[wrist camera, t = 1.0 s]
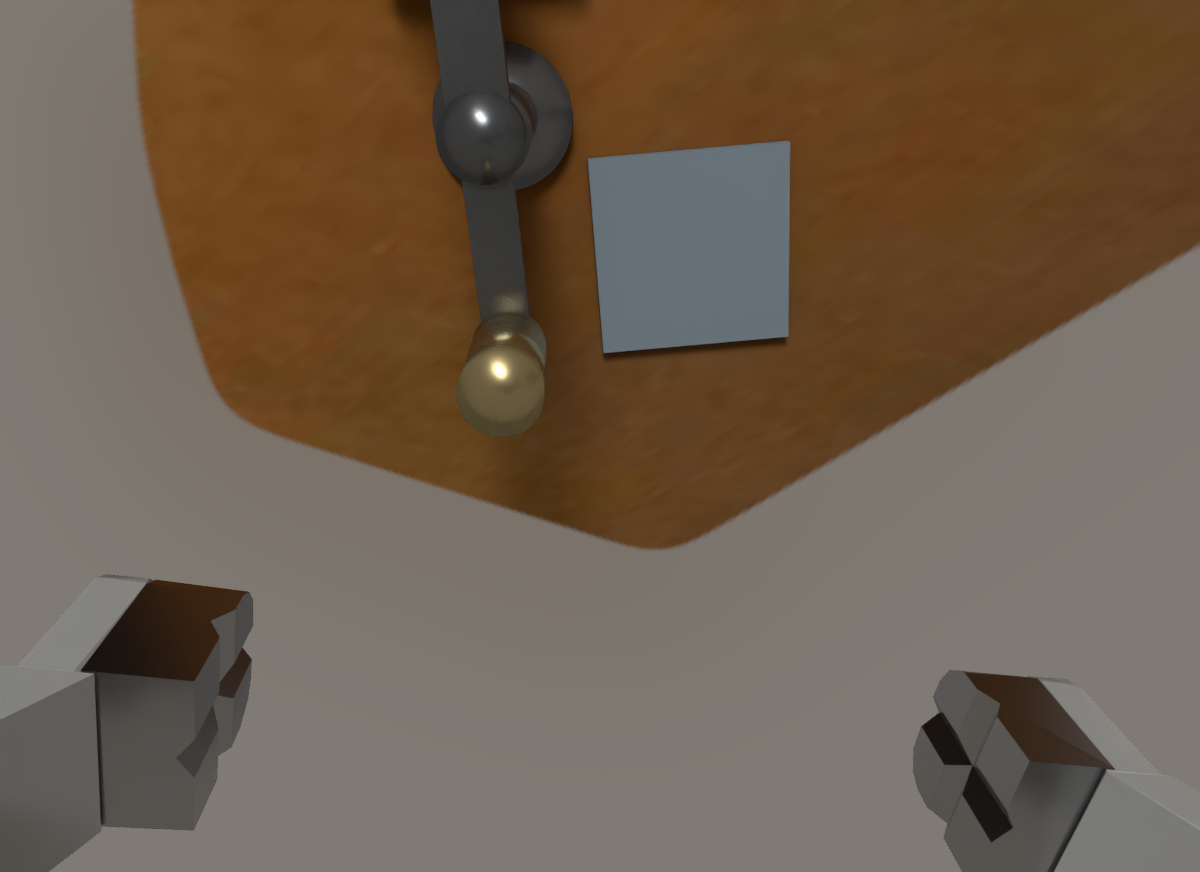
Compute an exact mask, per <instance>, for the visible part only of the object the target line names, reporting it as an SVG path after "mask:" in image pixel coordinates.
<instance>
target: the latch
mask: <svg viewBox="0 0 1200 872" xmlns="http://www.w3.org/2000/svg"><path fill="white" fill-rule="evenodd" d="M430 5H431V12H432V19H433V26H434V33H435V40H436V47H437V54H438V61H439V68H440V75H441V82H442V89H443V96H444V103H445V108H444V109H443V111H442V113H441V115H440V117H439V119H438V123H437V127H436V144H437V148H438V151H439V154H440V157H441V159H442V161H443V162H444V164H445V165H446V167H447V168H448V169H449V170H450V171H451V172H452V173H453V174H454V175H455V176H457V177H458V178H460V179H462V186H463V193H464V200H465V207H466V214H467V222H468V229H469V236H470V243H471V250H472V258H473V265H474V272H475V279H476V286H477V293H478V301H479V308H480V315H481V323H480V324H479V326H478V327H477V329H476V331H475V333H474V336H473V339H472V343H471V346H470V349H469V352H468V355H467V358H466V361H465V364H464V367H463V370H462V374H461V377H460V380H459V383H458V387H457V395H456V396H457V404H458V407H459V410H460V412H461V414H462V416H463V417H464V419H465V420H466V421H467V422H468V423H469V424H470V425H471V426H472V427H473V428H474V429H476V430H478V431H479V432H481V433H484V434H486V435H490V436H494V437H508V436H513V435H517V434H519V433H522V432H523V431H525V430H527V429H528V428H529V427H531V426H532V425H533V424H534V423H535V421H536V420H537V419H538V417H539V415H540V413H541V411H542V408H543V404H544V389H545V369H546V350H547V346H546V338H545V335H544V333H543V331H542V329H541V327H540V326H539V325H538V324H537V322H536V321H534V320H533V319H532V318H531V317H530V313H529V304H528V296H527V287H526V278H525V270H524V261H523V252H522V244H521V235H520V226H519V218H518V209H517V200H516V192H515V183H514V174H513V172H514V171H515V170H516V169H517V168H518V166H519V165H520V163H521V161H522V159H523V156H524V154H525V151H526V147H527V128H526V124H525V120H524V118H523V116H522V114H521V112H520V111H519V109H518V108H517V107H516V105H515V104H514V103H513V102H512V101H511V94H510V85H509V76H508V67H507V58H506V49H505V40H504V31H503V23H502V14H501V5H500V0H430Z"/></svg>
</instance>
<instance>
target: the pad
mask: <svg viewBox="0 0 1200 872" xmlns="http://www.w3.org/2000/svg"><path fill="white" fill-rule="evenodd" d="M588 170H589V182H590V195H591V207H592V219H593V231H594V244H595V256H596V268H597V281H598V293H599V305H600V317H601V330H602V342H603V352H604V353H610V352H621V351H633V350H644V349H655V348H666V347H678V346H689V345H700V344H711V343H723V342H734V341H745V340H756V339H767V338H779V337H788V320H789V212H790V142H789V141H780V142H768V143H757V144H745V145H734V146H722V147H711V148H700V149H688V150H677V151H665V152H654V153H642V154H631V155H619V156H608V157H597V158H588Z"/></svg>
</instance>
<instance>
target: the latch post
mask: <svg viewBox="0 0 1200 872" xmlns="http://www.w3.org/2000/svg"><path fill="white" fill-rule="evenodd" d="M505 49H506V58H507V67H508V76H509V85H510V94H511V101H512V102H513V103H514V104H515V105H516V107H517V108H518V109H519V111H520V112H521V114H522V116H523V118H524V120H525V124H526V128H527V147H526V151H525V154H524V156H523V159H522V161H521V163H520V165H519V166H518V168H517V169H516V170H515V171H514V172H513V174H514V183H515V190H518V189H522V188H525V187H529V186H531V185H533V184H535V183H537V182H539V181H540V180H542V179H544V178H545V177H546V176H547V175H548V174H550V173H551V172H552V171H553V170H554V169H555V167H556V166H557V165H558V164H559V162H560V161H561V159H562V158H563V156H564V154H565V152H566V150H567V147H568V145H569V142H570V138H571V133H572V125H573V112H572V106H571V101H570V97H569V94H568V91H567V88H566V86H565V84H564V82H563V80H562V78H561V77H560V75H559V74H558V72H557V71H556V70H555V68H554V67H553V66H552V65H551V64H550V63H549V62H548V61H547V60H546V59H545V58H543V57H542V56H541V55H539V54H538V53H536V52H534V51H533V50H531V49H529V48H526V47H524V46H521V45H518V44H514V43H508V42H505ZM444 108H445V103H444V96H443V89H442V82H441V79H440V81H439V84H438V86H437V89H436V92H435V95H434V101H433V126H434V130H435V135H436V127H437V123H438V119H439V117H440V115H441V113H442V111H443V109H444Z"/></svg>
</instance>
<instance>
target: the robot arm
mask: <svg viewBox="0 0 1200 872" xmlns="http://www.w3.org/2000/svg"><path fill="white" fill-rule="evenodd" d="M252 627H253V599H252V597H251V595H250V593H249V592H245V591H239V590H230V589H223V588H215V587H208V586H200V585H192V584H184V583H177V582H169V581H162V580H154V581H153V580H151V579H146V578H137V577H127V576H119V575H109V574H106V575H102V576H99V577H96V578H95V579H94V580H93V581H92V582H91V583H90V584H89V585H88V586H87V587H86V589H85V590H84V591H83V592H82V593H81V594H80V595H79V596H78V598H77V599H76V600H75V601H74V602H73V603H72V604H71V606H70V607H69V608H68V609H67V610H66V611H65V612H64V613H63V615H62V616H61V617H60V618H59V619H58V620H57V621H56V623H55V624H54V625H53V626H52V627H51V628H50V629H49V631H48V632H47V633H46V634H45V635H44V636H43V637H42V638H41V639H40V641H39V642H38V643H37V644H36V645H35V646H34V647H33V648H32V650H31V651H30V652H29V653H28V654H27V655H26V656H25V657H24V659H23V660H22V661H21V662H20V663H19V664H18V665H17V666H9V665H0V872H49V871H50V870H51V869H52V868H54V867H55V866H56V865H58V864H59V863H60V862H62V861H63V860H64V859H66V858H67V857H68V856H69V855H71V854H72V853H74V852H75V851H76V850H77V849H79V848H80V847H81V846H83V845H84V844H85V843H87V842H88V841H89V840H90V839H92V838H93V837H94V836H96V835H97V834H98V833H100V831H101V826H107V827H130V828H151V829H174V830H194V828H195V826H196V824H197V822H198V820H199V817H200V815H201V813H202V811H203V809H204V806H205V804H206V802H207V800H208V798H209V795H210V794H211V791H212V789H213V787H214V785H215V783H216V780H217V767H218V755H220V754H221V753H223V752H225V751H226V750H228V749H229V748H231V747H232V745H233V743H234V740H235V738H236V736H237V733H238V731H239V729H240V726H241V722H242V718H243V715H244V711H245V708H246V704H247V700H248V694H249V687H250V681H251V664H252V659H251V658H250V657H249V655H248V654H247V653H246V652H245V650H244V649H243V648H242V647H243V645H244V643H245V641H246V639H247V637H248V635H249V633H250V631H251V629H252ZM933 698H934V700H935V703H936V706H937V708H938V711H939V713H938V714H937V715H935V716H934V717H933V718H931V719H930V720H929V721H928V722H926V723H925V724H924V725H922V726H921V729H920V732H919V734H918V737H917V740H916V743H915V746H914V749H913V750H914V751H913V752H914V754H913V763H914V764H913V773H914V776H915V780H916V784H917V788H918V790H919V792H920V795H921V796H922V798H923V800H924V802H925V804H926V806H927V807H928V808H929V809H930V810H931V811H933V812H934V813H935V814H937V815H938V816H939V817H940V818H941V819H943V820H944V821H945V822H947V828H946V831H945V835H944V839H945V841H946V843H947V845H948V846H949V849H950V850H951V852H952V854H953V856H954V858H955V859H956V861H957V863H958V865H959V867H960V868H961V870H962V872H1200V792H1198V791H1196V790H1195V789H1193V788H1191V787H1190V786H1188V785H1186V784H1185V783H1183V782H1181V781H1180V780H1178V779H1176V778H1175V777H1173V776H1166V775H1160V774H1159V773H1158V772H1157V771H1156V770H1155V768H1154V767H1153V766H1152V765H1151V764H1150V763H1149V762H1148V761H1147V760H1146V759H1145V757H1144V756H1143V755H1142V754H1141V753H1140V752H1139V751H1138V750H1137V749H1136V748H1135V747H1134V746H1133V744H1132V743H1131V742H1130V741H1129V740H1128V739H1127V738H1126V737H1125V736H1124V734H1123V733H1122V732H1121V731H1120V730H1119V729H1118V728H1117V727H1116V726H1115V725H1114V723H1113V722H1112V721H1111V720H1110V719H1109V718H1108V717H1107V716H1106V715H1105V714H1104V713H1103V711H1102V710H1101V709H1100V708H1099V707H1098V706H1097V705H1096V704H1095V703H1094V702H1093V700H1092V699H1091V698H1090V697H1089V696H1088V695H1087V694H1086V693H1085V692H1084V691H1083V690H1082V688H1081V687H1080V686H1079V685H1077V684H1074V683H1073V682H1071V681H1069V680H1066V679H1057V678H1056V679H1055V678H1043V677H1030V676H1028V677H1020V676H1009V675H998V674H988V673H977V672H966V671H955V670H949V672H948V673H947V674H946V675H945V676H944V677H943V678H942V679H941V680H940V682H939V685H938V687H937V689H936V691H935V694H934V696H933Z"/></svg>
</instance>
